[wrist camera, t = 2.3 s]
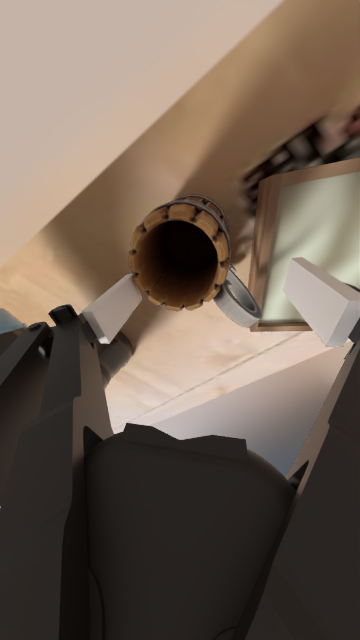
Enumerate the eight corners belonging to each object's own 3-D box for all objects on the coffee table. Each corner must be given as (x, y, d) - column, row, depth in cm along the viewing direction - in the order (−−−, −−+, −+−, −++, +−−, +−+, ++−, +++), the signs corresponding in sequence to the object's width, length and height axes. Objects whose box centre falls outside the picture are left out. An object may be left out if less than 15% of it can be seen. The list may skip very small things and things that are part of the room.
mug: (148, 245, 26) (96, 280, 14) (185, 174, 20) (149, 133, 9) (219, 298, 30) (224, 361, 18) (267, 251, 24) (323, 298, 12)
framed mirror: (245, 314, 31) (250, 331, 27) (258, 181, 20) (271, 175, 16) (343, 311, 28) (366, 330, 23) (427, 147, 16) (500, 128, 12)
